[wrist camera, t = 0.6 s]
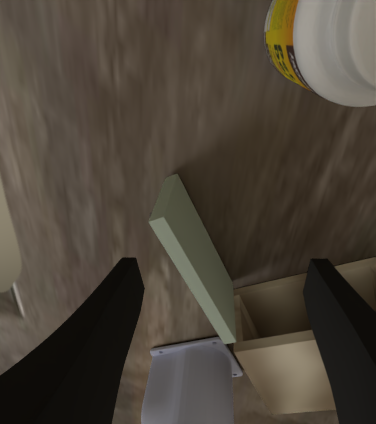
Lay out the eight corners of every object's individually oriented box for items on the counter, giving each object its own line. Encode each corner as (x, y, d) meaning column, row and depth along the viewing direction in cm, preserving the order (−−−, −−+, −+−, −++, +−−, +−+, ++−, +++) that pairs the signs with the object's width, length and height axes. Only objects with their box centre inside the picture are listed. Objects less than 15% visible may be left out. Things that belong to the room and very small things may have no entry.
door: (233, 283, 26) (236, 342, 21) (211, 288, 27) (210, 346, 21) (177, 173, 20) (163, 216, 15) (152, 183, 21) (130, 227, 16)
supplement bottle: (243, 49, 16) (271, 57, 7) (309, -67, 13) (481, -274, 5) (316, 99, 17) (417, 158, 8) (392, 1, 14) (661, -61, 6)
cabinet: (262, 351, 32) (271, 414, 26) (230, 290, 27) (233, 352, 21) (386, 332, 28) (426, 402, 23) (376, 256, 23) (424, 322, 18)
